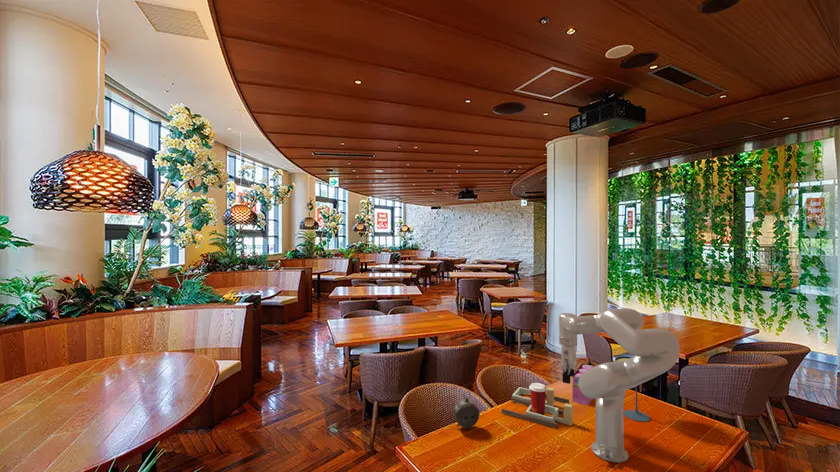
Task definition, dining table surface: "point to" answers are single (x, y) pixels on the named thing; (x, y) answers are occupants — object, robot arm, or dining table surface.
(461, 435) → the dining table surface
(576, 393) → the gum box
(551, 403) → the square frame with handle
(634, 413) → the cocktail glass
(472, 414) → the alarm clock
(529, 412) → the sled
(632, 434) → the dining table surface
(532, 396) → the paper cup
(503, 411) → the lane rails
